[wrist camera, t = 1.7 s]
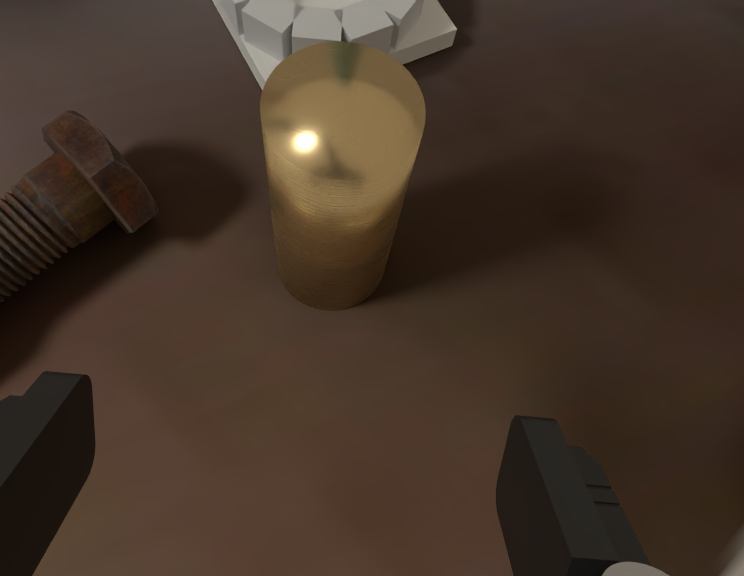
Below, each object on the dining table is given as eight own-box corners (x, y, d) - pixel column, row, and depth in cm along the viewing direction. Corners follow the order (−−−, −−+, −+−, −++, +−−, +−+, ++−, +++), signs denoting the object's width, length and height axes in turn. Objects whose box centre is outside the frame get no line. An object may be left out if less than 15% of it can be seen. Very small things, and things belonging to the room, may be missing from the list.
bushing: (306, 328, 28) (305, 205, 18) (258, 236, 30) (232, 73, 19) (404, 282, 29) (455, 142, 19) (354, 195, 31) (377, 21, 21)
